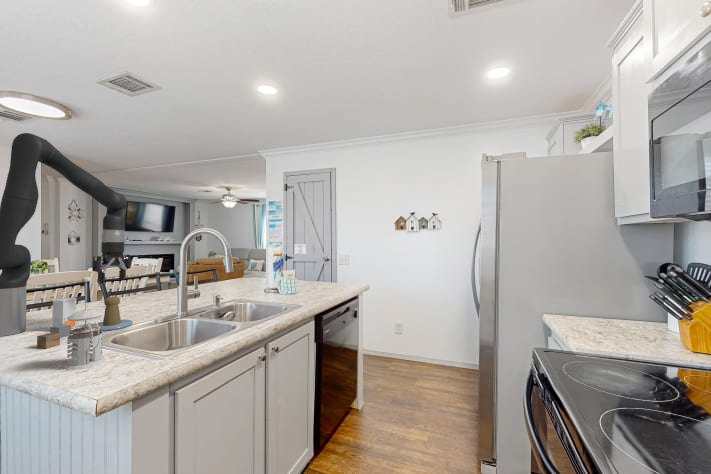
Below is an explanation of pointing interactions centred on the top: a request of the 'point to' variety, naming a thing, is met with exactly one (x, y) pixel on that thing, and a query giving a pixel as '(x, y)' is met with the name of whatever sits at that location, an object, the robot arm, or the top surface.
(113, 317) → the cork
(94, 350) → the french press
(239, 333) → the top surface
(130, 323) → the slate plate
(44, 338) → the walnut block
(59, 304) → the skincare box
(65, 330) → the graphite block
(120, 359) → the top surface
